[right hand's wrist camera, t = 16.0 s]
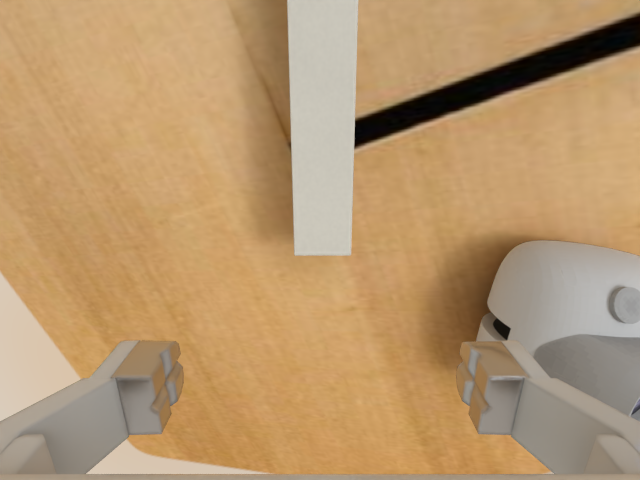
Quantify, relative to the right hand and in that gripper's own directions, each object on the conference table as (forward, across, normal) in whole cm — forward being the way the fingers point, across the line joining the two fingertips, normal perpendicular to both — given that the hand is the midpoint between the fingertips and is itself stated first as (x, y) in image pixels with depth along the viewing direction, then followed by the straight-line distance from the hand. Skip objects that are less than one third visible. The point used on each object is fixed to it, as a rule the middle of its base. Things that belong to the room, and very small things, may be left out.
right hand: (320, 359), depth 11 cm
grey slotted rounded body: (+26, -27, +13) cm, 40 cm away
